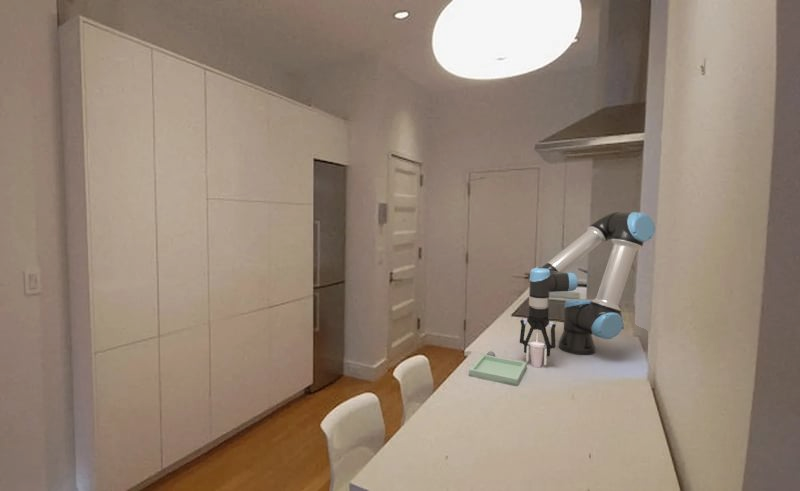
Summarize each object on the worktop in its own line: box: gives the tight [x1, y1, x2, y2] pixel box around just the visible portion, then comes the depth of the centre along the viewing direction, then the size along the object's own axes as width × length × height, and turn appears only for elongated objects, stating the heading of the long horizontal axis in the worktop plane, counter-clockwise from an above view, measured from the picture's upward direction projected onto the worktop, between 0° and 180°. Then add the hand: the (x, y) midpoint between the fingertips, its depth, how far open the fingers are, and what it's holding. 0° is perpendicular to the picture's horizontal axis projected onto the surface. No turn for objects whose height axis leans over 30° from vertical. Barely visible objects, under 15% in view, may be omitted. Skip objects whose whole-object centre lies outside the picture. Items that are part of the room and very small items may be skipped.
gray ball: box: [486, 350, 496, 357], centre depth 163 cm, size 4×4×4 cm
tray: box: [468, 354, 528, 387], centre depth 151 cm, size 18×18×2 cm
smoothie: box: [528, 332, 546, 368], centre depth 157 cm, size 6×6×14 cm
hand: (536, 362), depth 157 cm, fingers closed on smoothie, 6 cm apart
